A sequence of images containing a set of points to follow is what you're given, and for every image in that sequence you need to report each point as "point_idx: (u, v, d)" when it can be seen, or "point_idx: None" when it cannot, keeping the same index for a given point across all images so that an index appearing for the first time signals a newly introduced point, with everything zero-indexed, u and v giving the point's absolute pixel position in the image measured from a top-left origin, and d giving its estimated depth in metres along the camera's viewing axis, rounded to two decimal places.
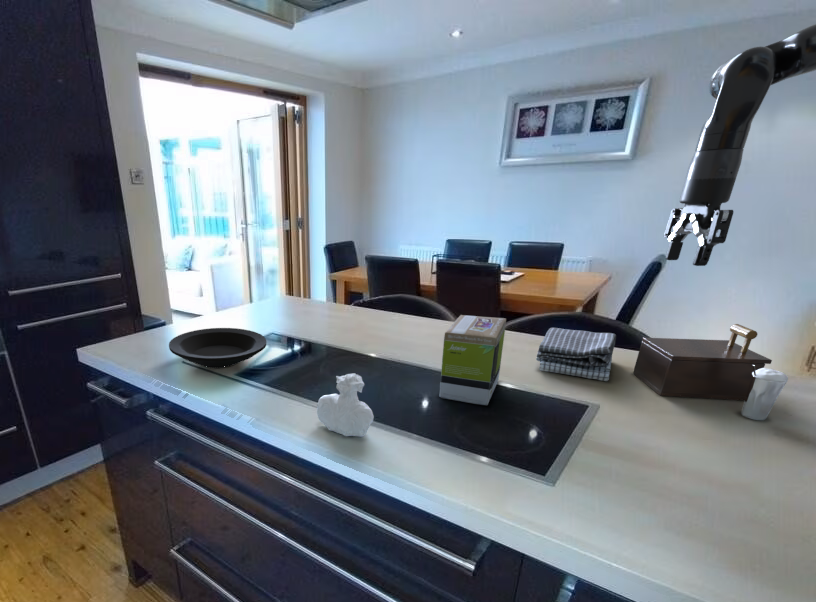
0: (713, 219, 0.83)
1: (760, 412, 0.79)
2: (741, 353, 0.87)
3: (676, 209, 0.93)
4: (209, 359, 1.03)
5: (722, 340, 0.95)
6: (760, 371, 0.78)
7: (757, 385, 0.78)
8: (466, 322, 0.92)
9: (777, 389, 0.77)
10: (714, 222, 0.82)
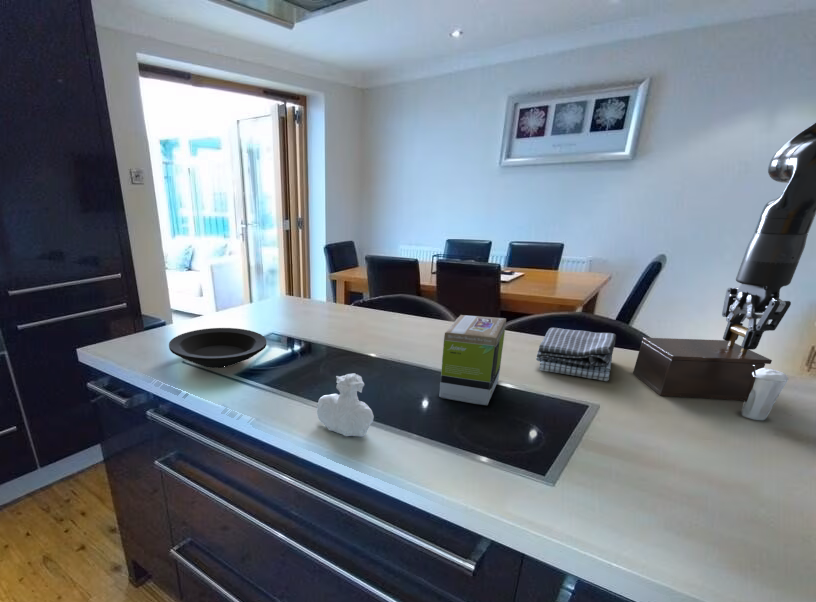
0: (767, 308, 0.81)
1: (760, 412, 0.79)
2: (741, 353, 0.87)
3: (731, 288, 0.91)
4: (209, 359, 1.03)
5: (722, 340, 0.95)
6: (760, 371, 0.78)
7: (757, 385, 0.78)
8: (466, 322, 0.92)
9: (777, 389, 0.77)
10: (767, 312, 0.81)
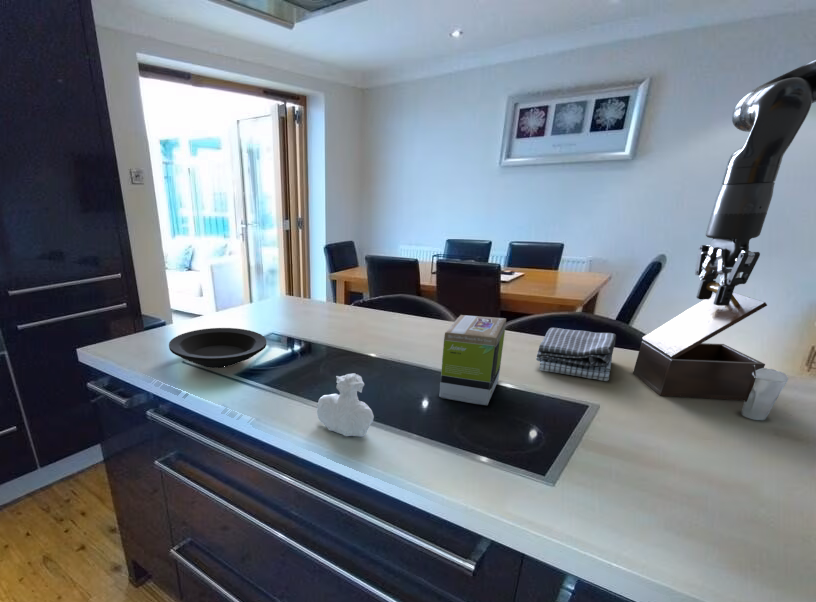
0: (737, 260, 0.79)
1: (760, 412, 0.79)
2: (734, 308, 0.84)
3: (703, 245, 0.89)
4: (209, 359, 1.03)
5: (715, 293, 0.92)
6: (760, 371, 0.78)
7: (757, 385, 0.78)
8: (466, 322, 0.92)
9: (777, 389, 0.77)
10: (737, 264, 0.79)
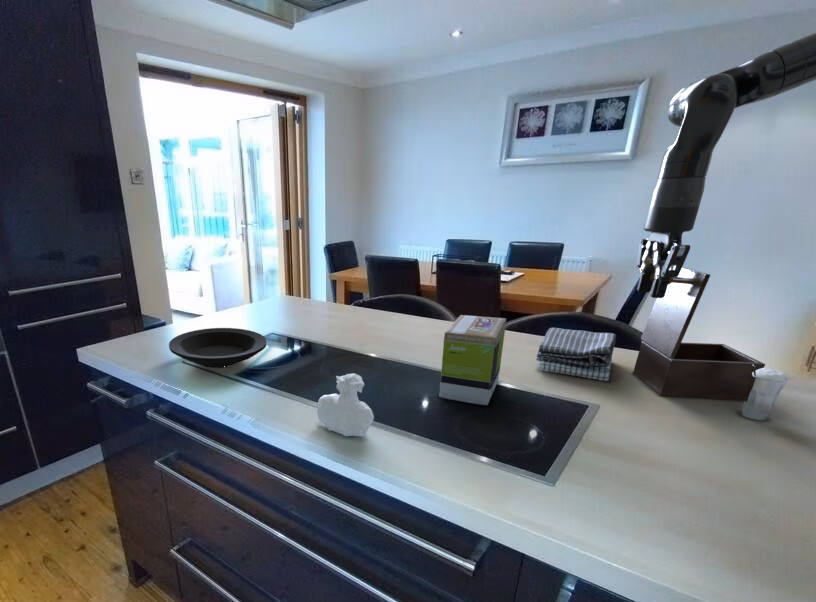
0: (669, 253, 0.81)
1: (760, 412, 0.79)
2: (688, 287, 0.85)
3: (644, 239, 0.91)
4: (209, 359, 1.03)
5: None
6: (760, 371, 0.78)
7: (757, 385, 0.78)
8: (466, 322, 0.92)
9: (777, 389, 0.77)
10: (669, 257, 0.81)
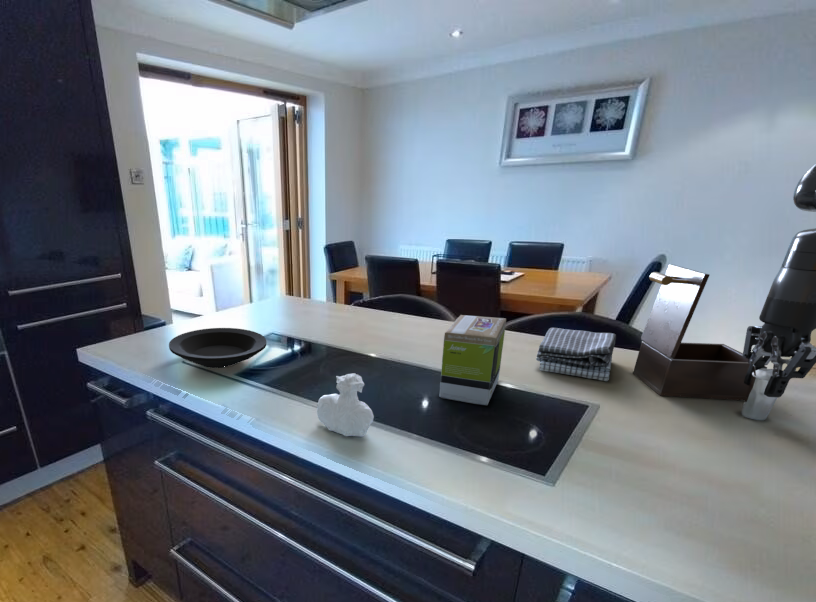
0: (796, 354, 0.71)
1: (760, 412, 0.79)
2: (687, 287, 0.85)
3: (753, 327, 0.81)
4: (209, 359, 1.03)
5: (667, 271, 0.92)
6: (760, 371, 0.78)
7: (757, 385, 0.78)
8: (466, 322, 0.92)
9: None
10: (796, 358, 0.71)
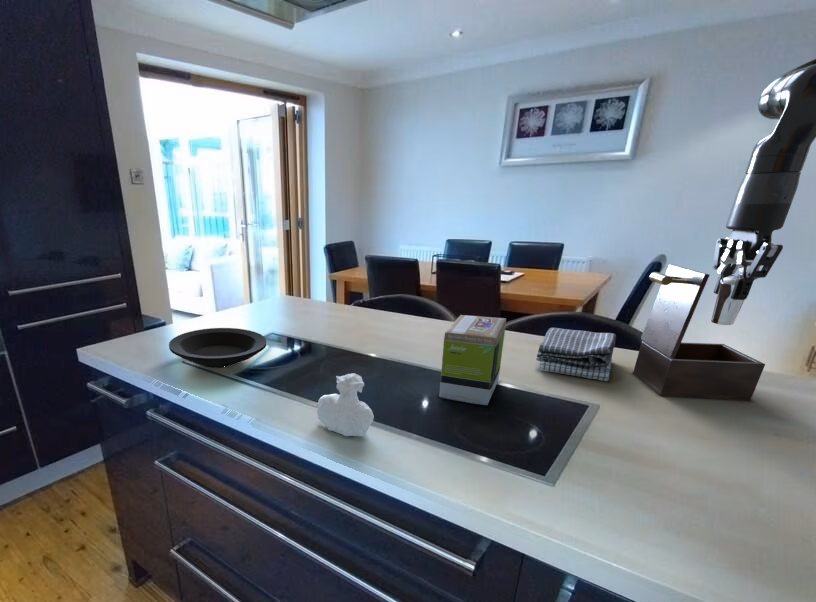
0: (758, 253, 0.77)
1: (728, 317, 0.85)
2: (687, 287, 0.85)
3: (722, 239, 0.86)
4: (209, 359, 1.03)
5: (667, 271, 0.92)
6: (727, 277, 0.84)
7: (725, 291, 0.84)
8: (466, 322, 0.92)
9: None
10: (758, 257, 0.77)
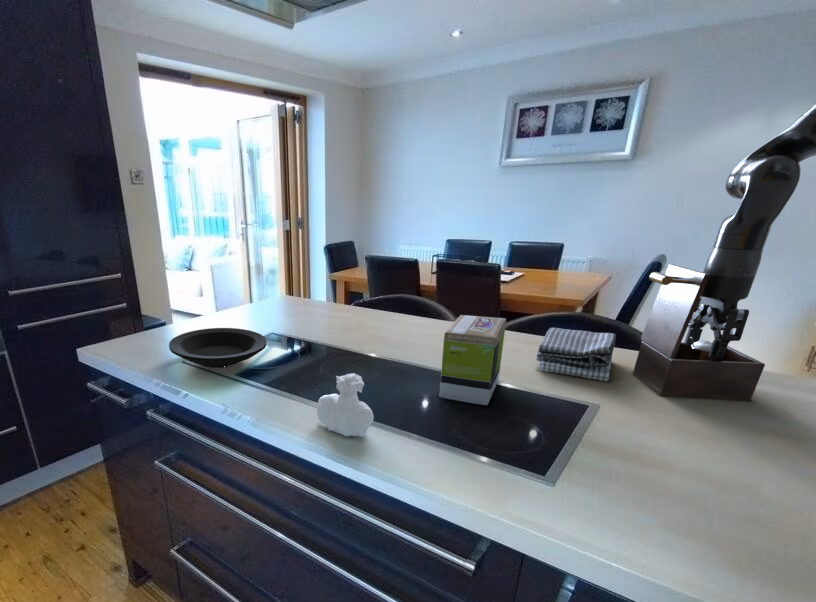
0: (728, 317, 0.83)
1: None
2: (687, 287, 0.85)
3: None
4: (209, 359, 1.03)
5: (667, 271, 0.92)
6: (697, 343, 0.91)
7: (695, 355, 0.91)
8: (466, 322, 0.92)
9: None
10: (729, 320, 0.82)
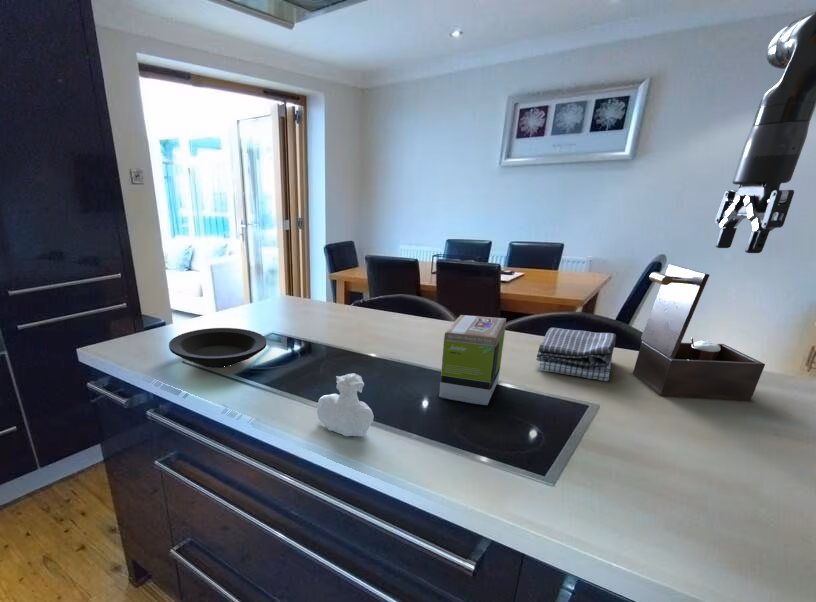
0: (770, 200, 0.75)
1: None
2: (687, 287, 0.85)
3: (730, 192, 0.84)
4: (209, 359, 1.03)
5: (667, 271, 0.92)
6: (698, 343, 0.91)
7: (695, 355, 0.91)
8: (466, 322, 0.92)
9: (711, 358, 0.89)
10: (771, 204, 0.74)
